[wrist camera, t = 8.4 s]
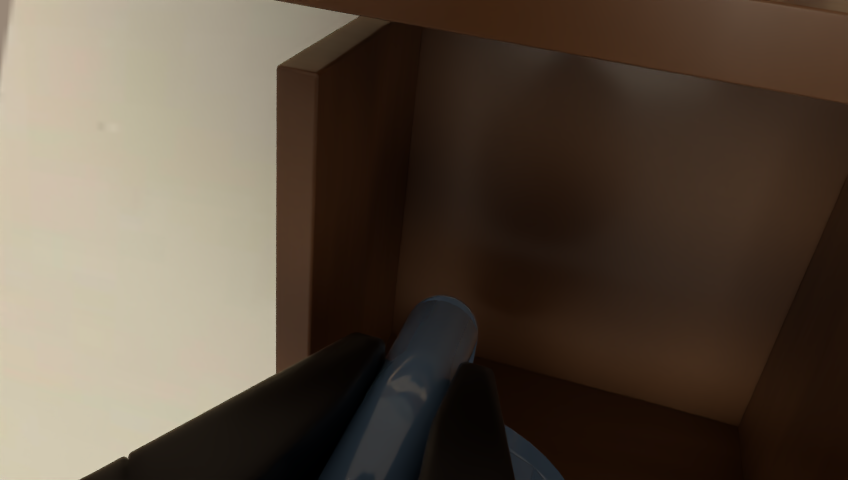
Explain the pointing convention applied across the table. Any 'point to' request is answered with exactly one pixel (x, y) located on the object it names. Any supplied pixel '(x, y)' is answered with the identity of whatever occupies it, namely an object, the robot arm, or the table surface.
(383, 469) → the mug
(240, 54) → the table surface
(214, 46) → the table surface
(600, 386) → the drawer
